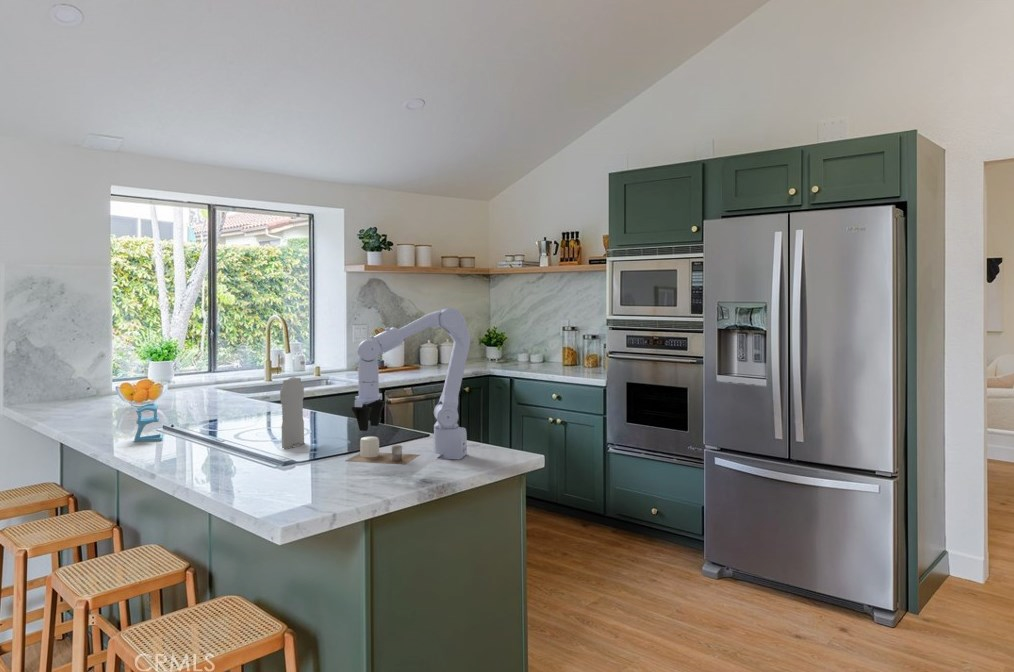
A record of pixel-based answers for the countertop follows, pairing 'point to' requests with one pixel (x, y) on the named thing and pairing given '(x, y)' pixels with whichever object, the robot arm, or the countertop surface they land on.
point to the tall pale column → (292, 412)
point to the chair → (145, 421)
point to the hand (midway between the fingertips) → (369, 428)
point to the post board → (387, 457)
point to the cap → (369, 447)
